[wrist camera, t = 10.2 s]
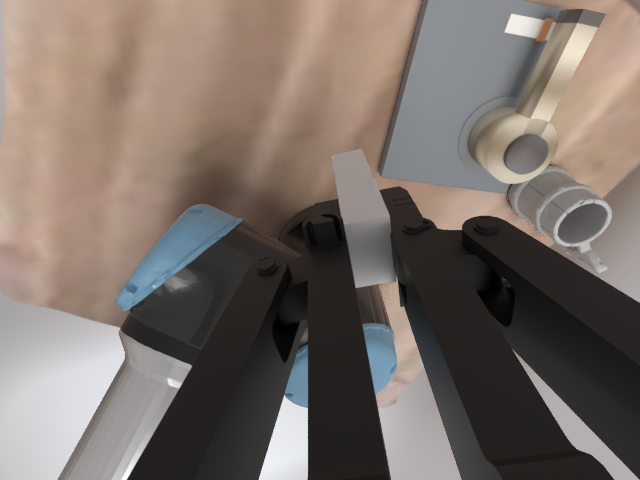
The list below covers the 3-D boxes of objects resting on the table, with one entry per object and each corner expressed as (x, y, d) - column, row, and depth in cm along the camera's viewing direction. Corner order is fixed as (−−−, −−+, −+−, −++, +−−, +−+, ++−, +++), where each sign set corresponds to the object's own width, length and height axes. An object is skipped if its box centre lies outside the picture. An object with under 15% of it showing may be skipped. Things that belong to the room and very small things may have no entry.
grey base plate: (497, 187, 46) (506, 195, 44) (378, 171, 44) (382, 178, 42) (579, 15, 35) (597, 14, 33) (427, -16, 34) (434, -18, 32)
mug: (557, 150, 44) (631, 189, 34) (572, 217, 49) (640, 267, 39) (499, 180, 46) (552, 225, 36) (520, 241, 51) (571, 294, 41)
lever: (510, 169, 42) (541, 191, 37) (458, 160, 42) (482, 182, 36) (585, 19, 34) (640, 19, 28) (521, 5, 33) (565, 2, 27)
